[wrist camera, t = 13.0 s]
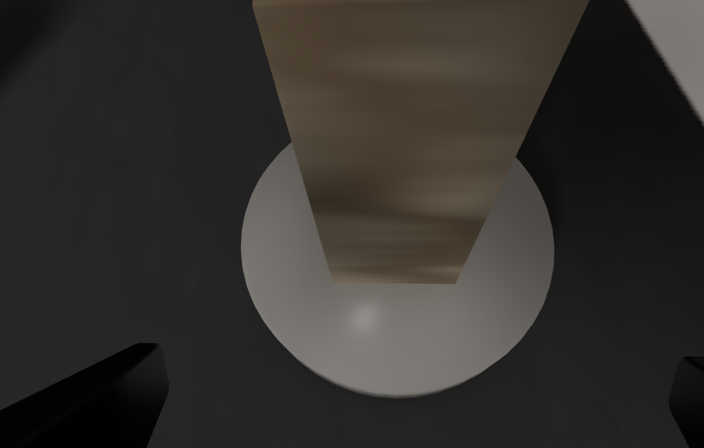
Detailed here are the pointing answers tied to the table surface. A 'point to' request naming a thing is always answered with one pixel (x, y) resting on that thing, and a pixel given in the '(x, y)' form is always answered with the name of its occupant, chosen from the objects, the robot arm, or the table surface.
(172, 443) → the table surface
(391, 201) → the maple block
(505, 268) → the white round disc
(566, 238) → the table surface
